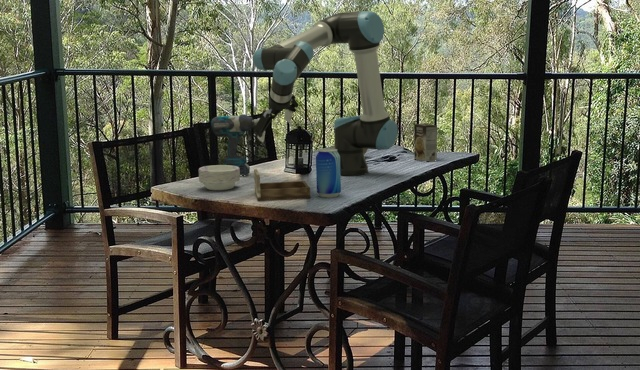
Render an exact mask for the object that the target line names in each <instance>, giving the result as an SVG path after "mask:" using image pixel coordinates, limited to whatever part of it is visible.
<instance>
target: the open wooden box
mask: <svg viewBox="0 0 640 370" xmlns="http://www.w3.org/2000/svg"><path fill="white" fill-rule="evenodd" d="M253 178H254V179H253V180H254V181H253V182H254V196H255V199H256V200H257V202H264V201H265V202H266V201H268V202H269V201H281V200H284V201H285V200H299V199H300V200H302V199H311V187H310V186H309V185H308V183H307V182H306V181H305V180H297V181H295V180H294V181H277V182H261V175H260V172H259V171H258V169H257V168H253Z"/></svg>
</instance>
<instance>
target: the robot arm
mask: <svg viewBox="0 0 640 370" xmlns="http://www.w3.org/2000/svg"><path fill="white" fill-rule="evenodd" d="M384 34H385V26H384V22H383V19H382V18H381V17H380V15H379V14H378V13H377V12H374V11H369V10H368V11H367V10H361V11H360V10H358V11H348V12H347V11H346V12H338V13H334V14H332V15H329V16H327V17H325V18H323V19H321V20H319V21H317V22H315V23H314V24H313V25H312V27H310V28H308V29H306V30H304V31H302V32H300V33H298V34H295V35H294V36H291V37H290V38H287V39H285V40H283V41H281V42H279V43H276V44H274V45H272V46H270V47H268V48H266V47H263V48H258V49H256V50H255V51H254V52H253V53H254V54H253V57H252V60H253V65H254V66H255V68H256V69H257V70H260V71H273V72H272V79H271V80H272V81H271V86H270V92H269V97H268V103H269V107H268V110H265V109H264V110H263V111H262V113H261V116H260V117H259V118H260V119H259V121H258V123H257V125H256V126H254V127H253V132H255V134H256V135H257V137H256V138H257V139H258V140H259V142H261V143H264V141H265V137H266V136H265V135H266V130H267V128H268V126H269V125H270V124H271V123H272V121H273V120H274V119H276V118H277V117H278V115H279V114H280V113H281V112H282V111H284V110H285V111H284V112H285V113H284V115H283V116H284V117H283V119H284V120H285V121H286V122H287V123H288V124H290V123H291V121H292V116H293V113H296V112H297V109H296V108H298V107H299V104H298V101H297V100H296V96H295V95H294V94H293V91H294V87H295V83H296V82H297V80H298V79H299V77H300V76H301V74H302V73H303V72H304V71H305V69H306V68H307V66H308V65H309V64H310V63H311V61H312V59H313V57H314V56H315V52H314V50H316V49H318V48H319V47H327V46H329V45H335V44H336V45H337V44H348V49H349V51H350V52H351V53H353V55H354V62H355V70H356V76H357V83H358V87H359V90H358V91H359V94H360V101H361V108H362V114H361V115H352V116H345V117H344V116H343V117H338V118H336V119H335V120H334V122H333V123H334V124H333V127H334V128H333V132H334V135H333V136H334V145H335V149H337V152H338V153H339V155H340V171H341V176H351V177H352V176H361V175H366V174H369V166H368V163H367V160H366V157H365V154H363V148H364V149H368V150H378V151H381V150H382V151H383V150H385V151H386V150H389V149H391V148H392V147H393V146H394V144H395V143H396V140H397V138H398V124H397V123H396V121H394V120H393V119H391V118H390V117H391V116H390V112H388V111H386V109H385V100H384V96H383V88H382V86H383V85H382V80H381V72H380V66H379V59H378V58H379V57H378V51H377V50H378V48H379V47H380V45H381V44H380V42H382V40H383V38H384Z"/></svg>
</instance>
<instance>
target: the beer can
mask: <svg viewBox="0 0 640 370" xmlns="http://www.w3.org/2000/svg"><path fill="white" fill-rule="evenodd" d="M317 151H318V152H317V154H316V155H315V172H316V173H315V177H316V178H315V179H316V193H317V194H318V196H319V197H321V198H335V197H337V198H338V196H340V194H341V193H342V181H341V179H342V178H341V176H342V175H341V171H340V155H339V153H338V152H337V149H330V148H322V149H318V150H317Z"/></svg>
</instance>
